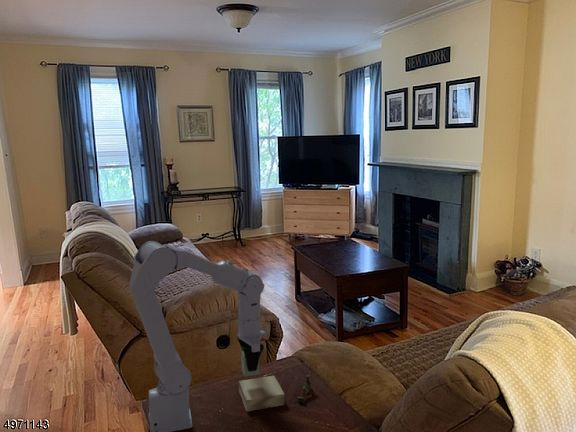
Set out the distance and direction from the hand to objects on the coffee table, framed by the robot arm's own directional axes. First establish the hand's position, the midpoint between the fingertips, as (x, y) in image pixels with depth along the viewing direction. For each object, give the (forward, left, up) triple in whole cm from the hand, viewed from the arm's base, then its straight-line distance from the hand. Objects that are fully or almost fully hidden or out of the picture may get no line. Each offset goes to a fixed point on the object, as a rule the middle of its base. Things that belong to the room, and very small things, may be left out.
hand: (250, 366), depth 113 cm
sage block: (0, 0, -2) cm, 2 cm away
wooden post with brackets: (+14, -4, -9) cm, 17 cm away
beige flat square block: (+2, -2, -9) cm, 9 cm away
